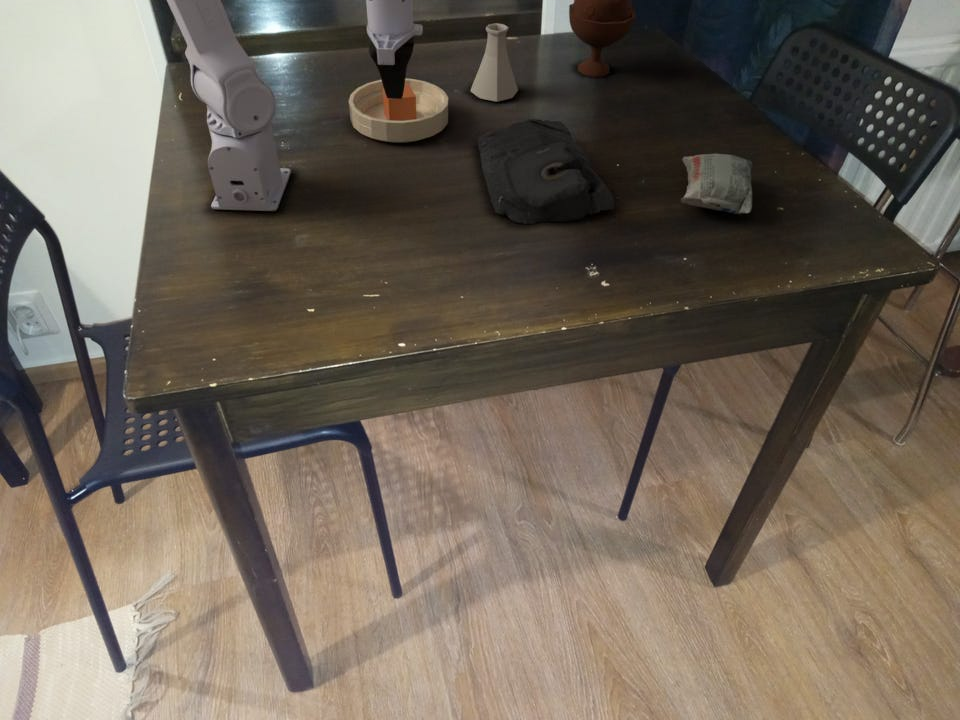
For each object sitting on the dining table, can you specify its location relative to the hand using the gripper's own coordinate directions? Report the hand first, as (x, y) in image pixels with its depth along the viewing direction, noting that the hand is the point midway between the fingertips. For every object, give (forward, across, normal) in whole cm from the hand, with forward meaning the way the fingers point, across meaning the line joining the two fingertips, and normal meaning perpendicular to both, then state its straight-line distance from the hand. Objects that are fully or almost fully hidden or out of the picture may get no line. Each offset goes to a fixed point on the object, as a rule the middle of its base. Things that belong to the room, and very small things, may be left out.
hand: (394, 96), depth 95 cm
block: (+6, +5, 0) cm, 8 cm away
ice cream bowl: (+6, +26, -31) cm, 41 cm away
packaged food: (+6, -13, -42) cm, 44 cm away
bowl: (+6, +5, 0) cm, 8 cm away
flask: (+6, +16, -14) cm, 22 cm away
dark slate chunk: (+6, -9, -20) cm, 23 cm away
